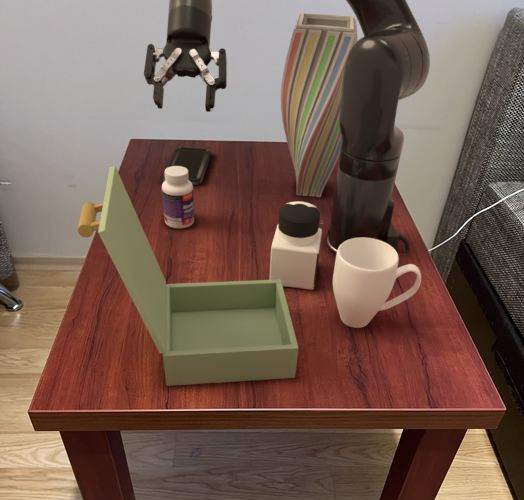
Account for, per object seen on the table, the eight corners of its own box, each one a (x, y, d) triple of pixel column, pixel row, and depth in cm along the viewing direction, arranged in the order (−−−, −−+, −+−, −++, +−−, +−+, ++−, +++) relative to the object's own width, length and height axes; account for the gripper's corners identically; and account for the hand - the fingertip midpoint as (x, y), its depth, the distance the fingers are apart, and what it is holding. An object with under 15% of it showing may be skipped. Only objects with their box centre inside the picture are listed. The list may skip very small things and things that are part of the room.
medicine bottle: (313, 291, 85) (322, 222, 76) (268, 285, 85) (272, 217, 77) (317, 265, 90) (326, 199, 82) (275, 260, 90) (279, 193, 82)
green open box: (278, 308, 81) (280, 279, 78) (295, 377, 71) (298, 348, 67) (166, 313, 79) (163, 284, 76) (166, 386, 69) (162, 355, 65)
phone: (211, 149, 119) (200, 180, 108) (211, 154, 120) (200, 185, 109) (176, 147, 119) (161, 177, 108) (176, 152, 120) (161, 182, 109)
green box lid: (115, 165, 63) (80, 175, 64) (104, 230, 53) (63, 241, 53) (165, 281, 75) (136, 288, 76) (165, 352, 65) (131, 361, 65)
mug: (326, 334, 77) (337, 267, 69) (327, 299, 83) (337, 234, 76) (410, 342, 77) (431, 276, 69) (405, 306, 83) (423, 241, 75)
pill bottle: (189, 231, 96) (186, 179, 90) (160, 227, 97) (155, 175, 90) (198, 216, 100) (196, 166, 93) (170, 212, 101) (166, 162, 94)
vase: (342, 178, 114) (366, 14, 94) (342, 209, 104) (369, 33, 84) (278, 172, 115) (288, 8, 94) (272, 203, 105) (282, 27, 84)
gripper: (145, 1, 92) (138, 95, 91) (228, 6, 92) (222, 100, 91) (154, 28, 99) (147, 115, 99) (231, 33, 99) (225, 120, 99)
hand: (183, 108), depth 95 cm, fingers open, 8 cm apart
